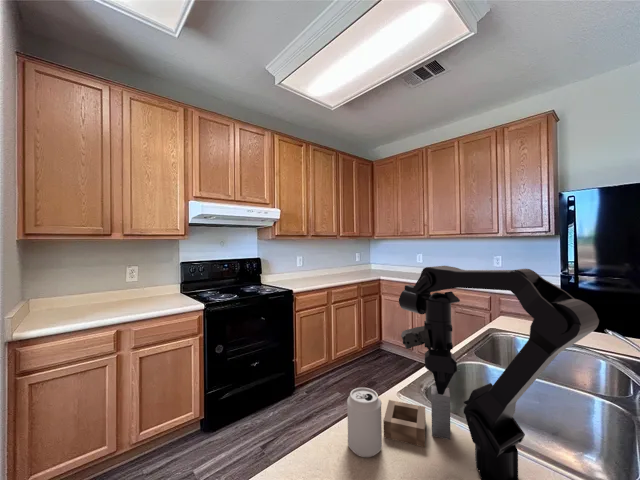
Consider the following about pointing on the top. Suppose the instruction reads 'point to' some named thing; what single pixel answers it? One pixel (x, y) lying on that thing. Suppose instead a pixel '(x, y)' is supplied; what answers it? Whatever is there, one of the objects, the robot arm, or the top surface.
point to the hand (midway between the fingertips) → (439, 384)
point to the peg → (440, 413)
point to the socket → (405, 423)
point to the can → (364, 422)
